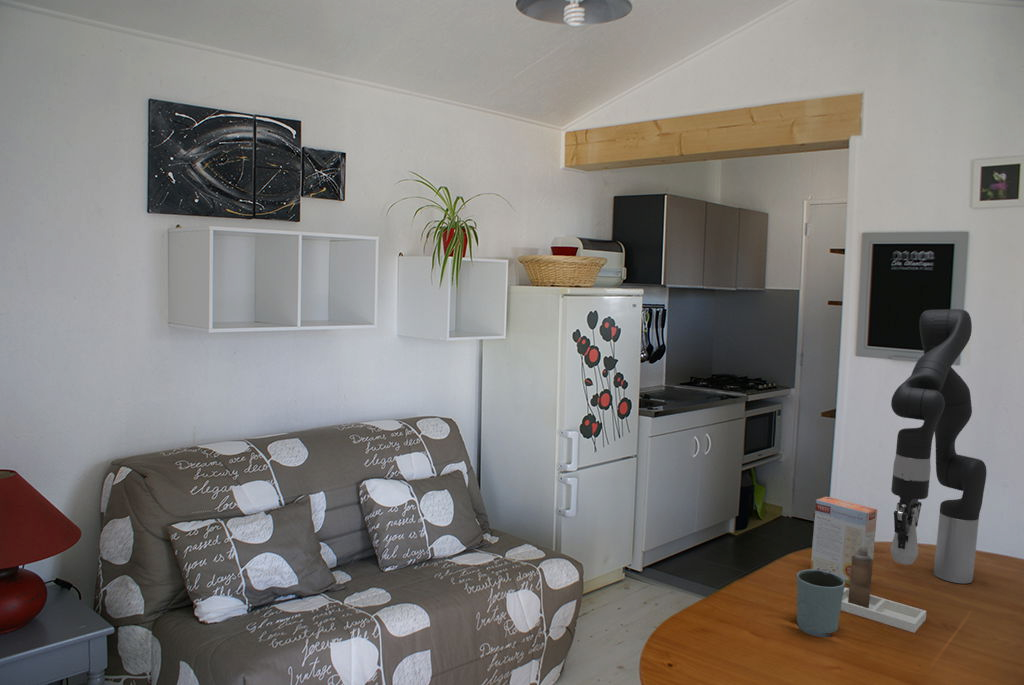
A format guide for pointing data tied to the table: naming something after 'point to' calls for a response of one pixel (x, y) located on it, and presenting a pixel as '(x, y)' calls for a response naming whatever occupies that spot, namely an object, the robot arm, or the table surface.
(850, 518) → the cracker box
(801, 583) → the blue-grey cup
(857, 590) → the pepper mill
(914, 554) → the salt shaker
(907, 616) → the caddy
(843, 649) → the table surface
